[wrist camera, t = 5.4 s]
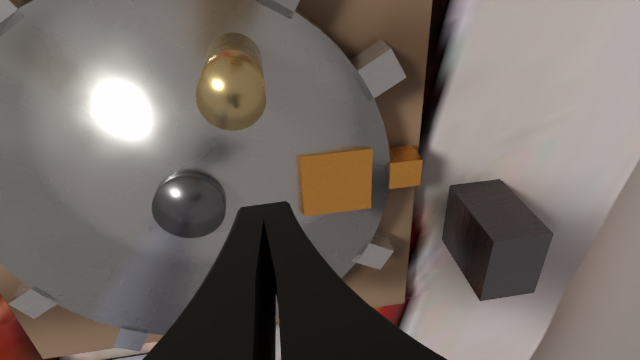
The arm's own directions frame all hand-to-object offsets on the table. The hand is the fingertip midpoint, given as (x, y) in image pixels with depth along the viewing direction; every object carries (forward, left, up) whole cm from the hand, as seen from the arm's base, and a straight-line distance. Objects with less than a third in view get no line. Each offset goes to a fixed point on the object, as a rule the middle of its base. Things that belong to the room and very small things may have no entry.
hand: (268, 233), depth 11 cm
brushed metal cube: (-8, -12, -10) cm, 17 cm away
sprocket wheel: (-3, +3, -8) cm, 9 cm away
